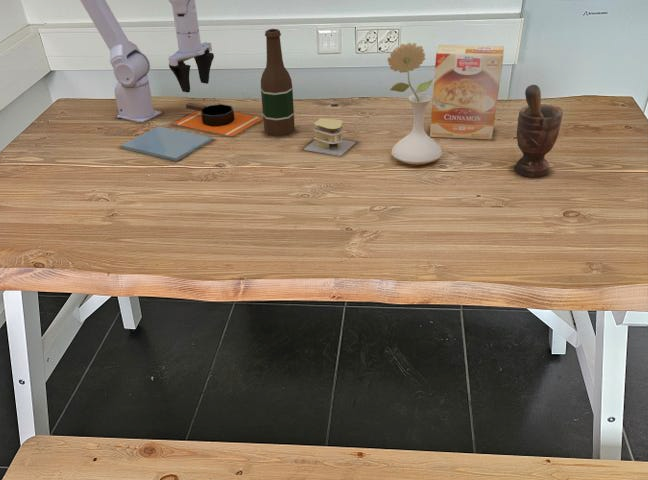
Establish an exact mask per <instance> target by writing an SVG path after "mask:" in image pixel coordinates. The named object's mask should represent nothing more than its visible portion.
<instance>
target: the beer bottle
mask: <svg viewBox="0 0 648 480" xmlns="http://www.w3.org/2000/svg"><path fill="white" fill-rule="evenodd" d="M281 35H282V33H281V31H280V30H279V29H278V28H269V29H267V30H265V31H264V36H265V39H266V40H265V41H266V44H265V45H266V62H265V64H266V65H265V68H264V70H263V72H262V74H261V78H260V95H261V107H262V118H263V119H262V120H263V129H264V132H265V134H266V135H267V136H269V137H275V138H279V137H280V138H281V137H287V136H290V135H291V134H293V133H294V132H295V110H294V109H295V108H294V107H295V106H294V89H293V88H294V87H293V81H292V77H291V75H290V72H289V71H288V69H287V68H286V67H285V63H284V60H283V51H282V44H281V42H282V41H281Z"/></svg>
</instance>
